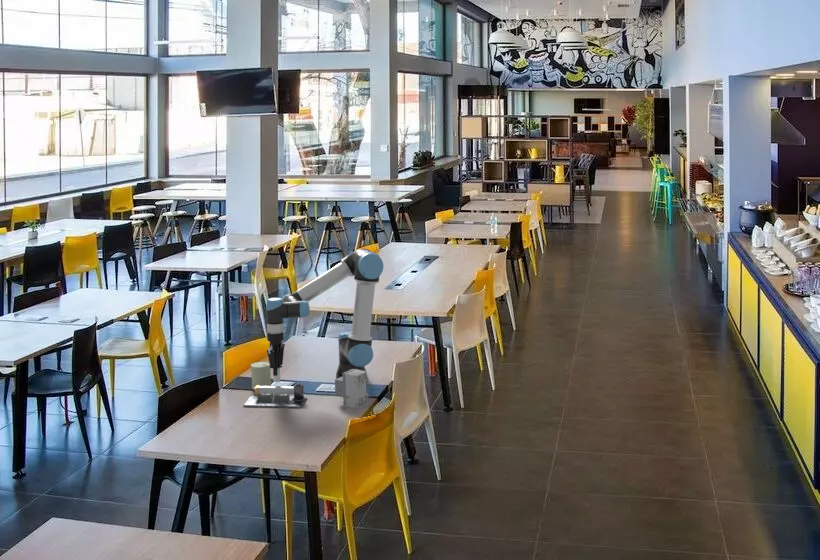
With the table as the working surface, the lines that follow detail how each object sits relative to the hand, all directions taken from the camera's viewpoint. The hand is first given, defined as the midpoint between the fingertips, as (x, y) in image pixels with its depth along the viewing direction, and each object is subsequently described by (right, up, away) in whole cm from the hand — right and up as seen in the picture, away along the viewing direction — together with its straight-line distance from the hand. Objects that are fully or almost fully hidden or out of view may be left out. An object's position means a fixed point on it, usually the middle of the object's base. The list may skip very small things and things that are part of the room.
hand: (276, 381), depth 431 cm
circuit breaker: (+35, -9, -11) cm, 37 cm away
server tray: (+1, -9, -8) cm, 12 cm away
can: (-9, -5, +13) cm, 16 cm away
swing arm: (+2, -7, -5) cm, 9 cm away
